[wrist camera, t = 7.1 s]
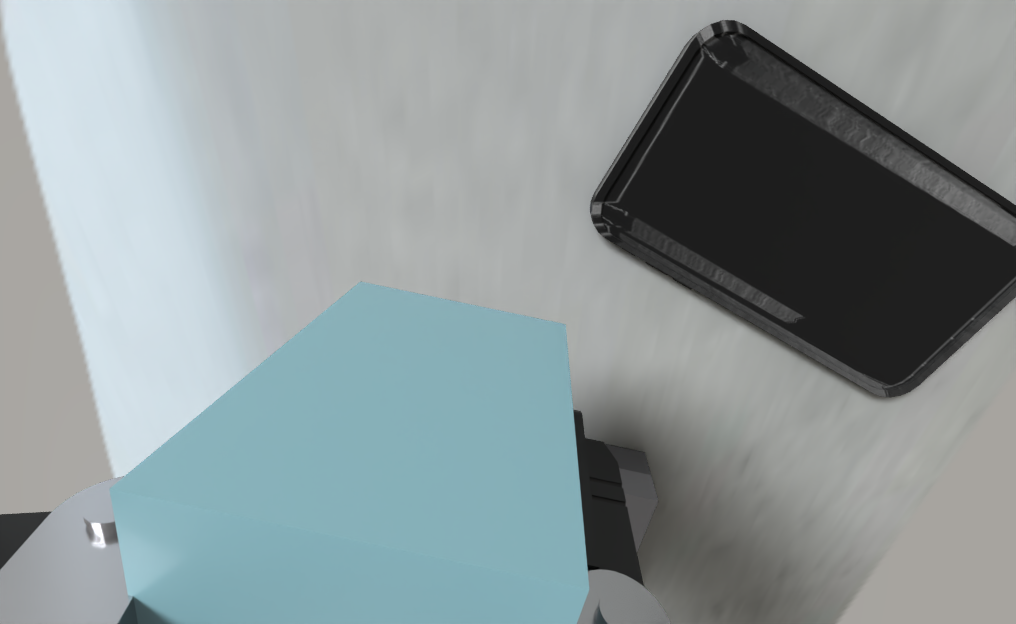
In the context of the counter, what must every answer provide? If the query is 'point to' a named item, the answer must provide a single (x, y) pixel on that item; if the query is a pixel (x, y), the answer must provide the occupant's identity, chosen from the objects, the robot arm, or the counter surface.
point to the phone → (808, 213)
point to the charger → (371, 479)
